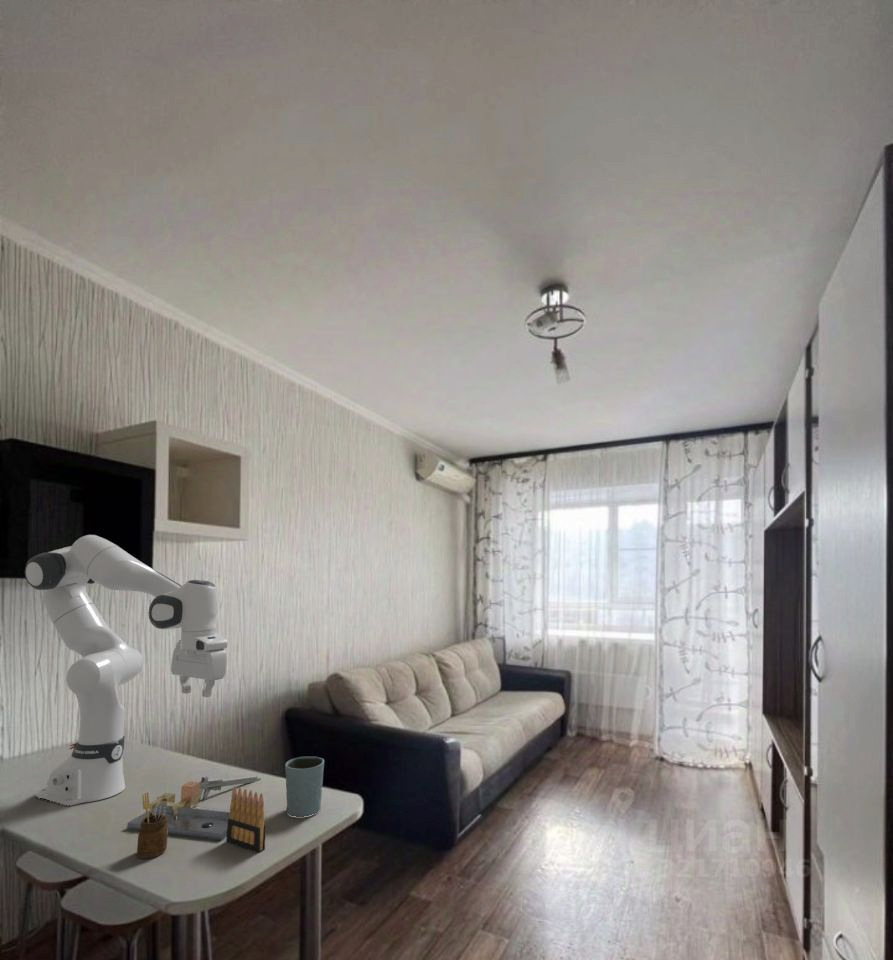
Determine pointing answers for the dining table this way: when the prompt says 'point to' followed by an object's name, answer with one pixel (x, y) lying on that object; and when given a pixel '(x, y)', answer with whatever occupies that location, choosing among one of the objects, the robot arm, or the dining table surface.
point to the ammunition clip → (246, 821)
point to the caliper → (221, 784)
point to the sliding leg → (187, 797)
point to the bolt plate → (188, 819)
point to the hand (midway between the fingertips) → (196, 694)
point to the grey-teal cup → (304, 785)
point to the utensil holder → (152, 833)
